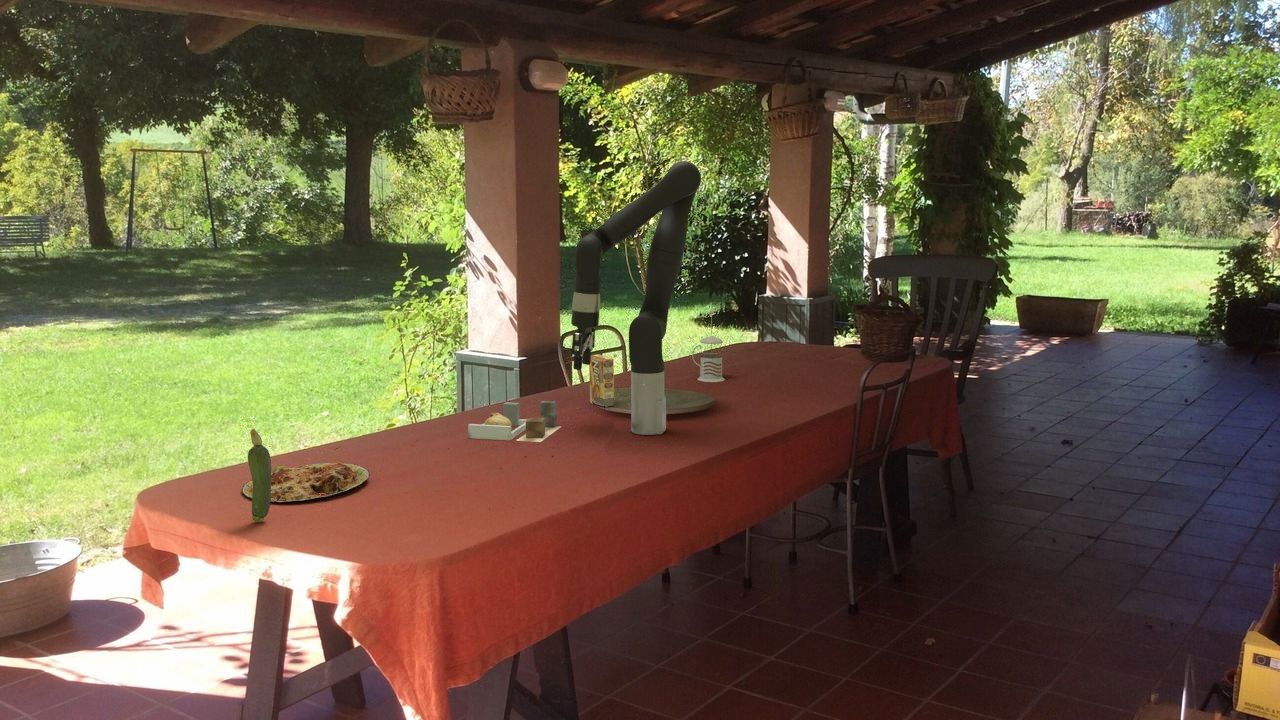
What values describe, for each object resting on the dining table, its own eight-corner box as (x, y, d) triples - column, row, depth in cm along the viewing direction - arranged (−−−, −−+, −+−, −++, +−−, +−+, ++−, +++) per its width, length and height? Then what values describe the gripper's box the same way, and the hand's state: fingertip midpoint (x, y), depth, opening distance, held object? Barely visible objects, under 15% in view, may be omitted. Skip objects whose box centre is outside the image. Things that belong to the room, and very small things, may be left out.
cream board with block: (562, 430, 287) (561, 401, 286) (541, 446, 269) (540, 416, 268) (538, 428, 289) (537, 400, 287) (515, 445, 271) (515, 414, 269)
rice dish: (245, 517, 217) (243, 493, 215) (239, 478, 241) (237, 456, 240) (379, 500, 228) (378, 477, 226) (360, 465, 252) (359, 444, 251)
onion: (515, 434, 282) (515, 409, 281) (509, 442, 274) (508, 416, 273) (487, 434, 283) (486, 409, 282) (480, 441, 275) (479, 415, 274)
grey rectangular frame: (533, 427, 289) (532, 403, 288) (510, 443, 271) (509, 417, 270) (493, 425, 292) (493, 401, 290) (468, 441, 274) (467, 415, 273)
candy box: (615, 406, 318) (614, 357, 316) (603, 407, 316) (602, 359, 313) (600, 401, 325) (599, 354, 323) (588, 403, 323) (588, 355, 321)
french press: (726, 381, 357) (726, 311, 353) (692, 382, 357) (693, 311, 353) (724, 376, 367) (724, 307, 362) (691, 376, 367) (692, 307, 363)
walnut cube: (545, 434, 278) (544, 417, 277) (542, 438, 273) (542, 421, 272) (528, 433, 278) (528, 417, 277) (526, 437, 273) (525, 421, 273)
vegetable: (266, 517, 212) (260, 423, 209) (279, 521, 210) (273, 426, 206) (247, 523, 208) (241, 427, 205) (260, 527, 206) (254, 430, 203)
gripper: (591, 313, 271) (587, 373, 275) (605, 307, 285) (601, 364, 288) (565, 310, 273) (561, 369, 276) (580, 304, 287) (576, 361, 290)
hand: (582, 366), depth 282 cm, fingers open, 8 cm apart
